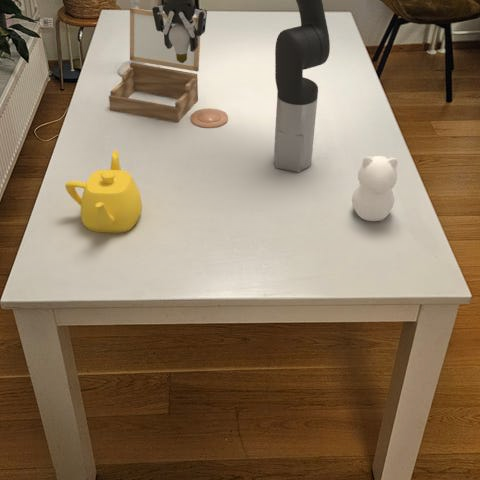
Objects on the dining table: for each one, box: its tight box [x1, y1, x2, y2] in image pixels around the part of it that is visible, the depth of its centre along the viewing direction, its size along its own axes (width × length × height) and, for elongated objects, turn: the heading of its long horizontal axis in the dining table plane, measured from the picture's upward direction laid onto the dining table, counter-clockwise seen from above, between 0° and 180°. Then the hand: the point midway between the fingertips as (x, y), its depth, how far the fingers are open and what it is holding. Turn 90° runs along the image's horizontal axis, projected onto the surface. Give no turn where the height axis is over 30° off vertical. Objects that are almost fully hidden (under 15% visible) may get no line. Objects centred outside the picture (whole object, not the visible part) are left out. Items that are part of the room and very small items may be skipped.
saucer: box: [189, 108, 229, 129], centre depth 188 cm, size 10×10×1 cm
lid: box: [129, 7, 201, 72], centre depth 191 cm, size 14×20×1 cm
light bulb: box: [169, 24, 191, 63], centre depth 178 cm, size 6×6×10 cm
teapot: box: [65, 149, 143, 234], centre depth 148 cm, size 22×16×11 cm
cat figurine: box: [351, 155, 398, 222], centre depth 151 cm, size 9×12×15 cm
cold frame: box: [108, 63, 199, 123], centre depth 192 cm, size 14×20×8 cm
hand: (181, 49), depth 179 cm, fingers closed on light bulb, 6 cm apart
